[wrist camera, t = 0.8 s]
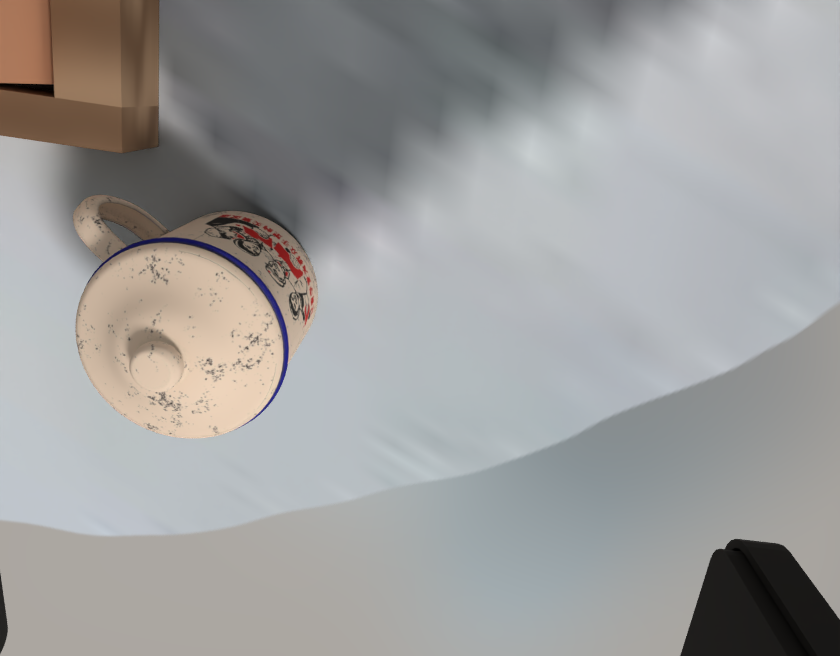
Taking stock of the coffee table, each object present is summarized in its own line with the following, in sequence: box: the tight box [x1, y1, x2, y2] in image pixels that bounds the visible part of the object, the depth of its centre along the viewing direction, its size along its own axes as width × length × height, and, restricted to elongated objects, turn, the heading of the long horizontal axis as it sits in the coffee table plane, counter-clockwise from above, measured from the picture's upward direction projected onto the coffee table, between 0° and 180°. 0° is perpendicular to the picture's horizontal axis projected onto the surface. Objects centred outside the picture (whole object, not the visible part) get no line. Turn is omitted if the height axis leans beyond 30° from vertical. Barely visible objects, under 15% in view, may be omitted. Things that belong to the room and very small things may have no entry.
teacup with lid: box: [73, 195, 318, 438], centre depth 30 cm, size 12×9×12 cm
